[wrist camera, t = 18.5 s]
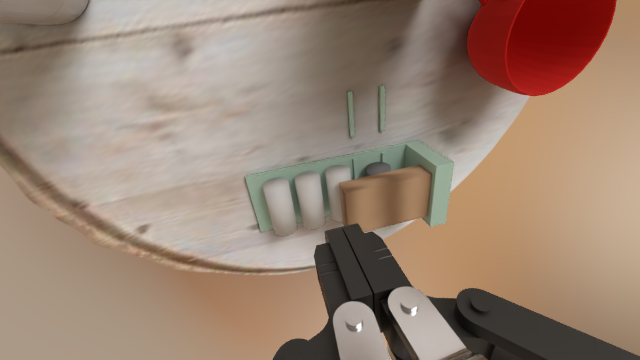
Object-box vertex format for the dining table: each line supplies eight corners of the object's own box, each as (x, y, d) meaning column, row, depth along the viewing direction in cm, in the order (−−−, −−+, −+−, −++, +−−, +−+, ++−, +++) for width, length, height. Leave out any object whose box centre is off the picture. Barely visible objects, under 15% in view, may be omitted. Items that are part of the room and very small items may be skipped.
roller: (362, 200, 44) (379, 210, 41) (361, 168, 41) (379, 176, 38) (378, 191, 45) (395, 200, 43) (377, 159, 42) (396, 166, 40)
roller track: (260, 229, 44) (263, 269, 36) (245, 175, 39) (243, 209, 31) (415, 193, 47) (445, 222, 40) (418, 139, 42) (454, 162, 35)
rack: (349, 136, 39) (351, 137, 39) (346, 91, 36) (348, 92, 36) (383, 129, 40) (384, 130, 40) (383, 85, 37) (384, 85, 37)
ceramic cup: (484, -83, 31) (575, -127, 22) (546, 21, 38) (633, 18, 29) (407, 24, 34) (460, 21, 25) (478, 100, 41) (538, 117, 33)
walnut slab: (342, 222, 40) (349, 235, 38) (338, 182, 37) (345, 193, 34) (416, 204, 42) (427, 216, 39) (419, 164, 39) (431, 174, 36)
